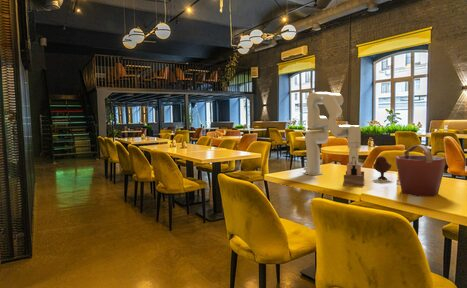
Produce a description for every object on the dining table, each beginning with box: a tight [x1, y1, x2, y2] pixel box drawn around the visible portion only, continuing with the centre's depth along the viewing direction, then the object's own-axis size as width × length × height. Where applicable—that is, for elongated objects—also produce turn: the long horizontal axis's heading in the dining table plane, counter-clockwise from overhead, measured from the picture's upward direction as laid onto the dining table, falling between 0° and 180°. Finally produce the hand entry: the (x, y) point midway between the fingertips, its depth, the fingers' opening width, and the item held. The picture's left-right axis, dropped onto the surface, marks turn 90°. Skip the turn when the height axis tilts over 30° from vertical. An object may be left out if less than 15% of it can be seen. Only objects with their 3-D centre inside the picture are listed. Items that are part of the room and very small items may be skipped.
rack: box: [342, 170, 366, 187], centre depth 200 cm, size 17×12×6 cm
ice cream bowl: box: [373, 155, 392, 180], centre depth 210 cm, size 11×11×15 cm
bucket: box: [395, 144, 447, 197], centre depth 168 cm, size 24×22×25 cm
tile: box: [346, 163, 362, 175], centre depth 200 cm, size 3×8×9 cm, turn 67°
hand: (354, 174), depth 200 cm, fingers closed on tile, 3 cm apart
